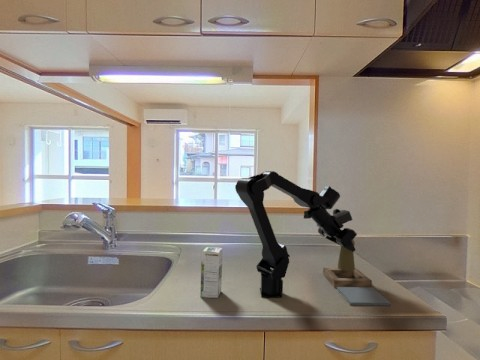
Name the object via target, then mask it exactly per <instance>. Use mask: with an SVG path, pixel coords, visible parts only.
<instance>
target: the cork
mask: <svg viewBox="0 0 480 360" xmlns="http://www.w3.org/2000/svg"><path fill="white" fill-rule="evenodd" d="M352 243H353V245H354V246H355V245H356V244H355V243H356V242H355V240H354V239H353V240H352ZM355 266H356V265H355V256H354V252H353V251H351V250H349V249H347V248H345V247H343V246H340V250H339V255H338V262H337V268H339V269H341V270H345V271H354V270H355V268H356V267H355Z"/></svg>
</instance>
